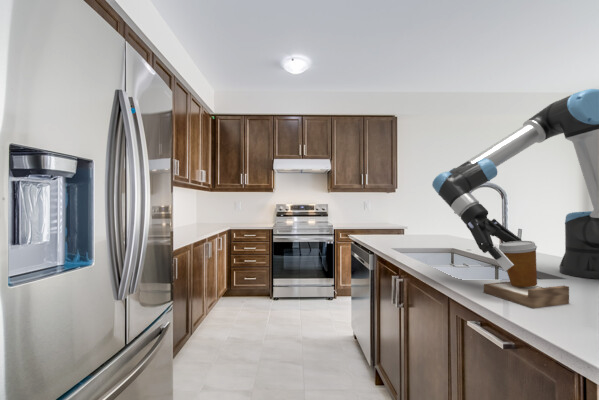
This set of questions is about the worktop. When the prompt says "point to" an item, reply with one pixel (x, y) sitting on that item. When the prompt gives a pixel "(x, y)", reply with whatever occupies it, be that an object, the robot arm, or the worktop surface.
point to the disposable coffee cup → (521, 262)
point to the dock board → (529, 294)
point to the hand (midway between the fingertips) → (521, 265)
